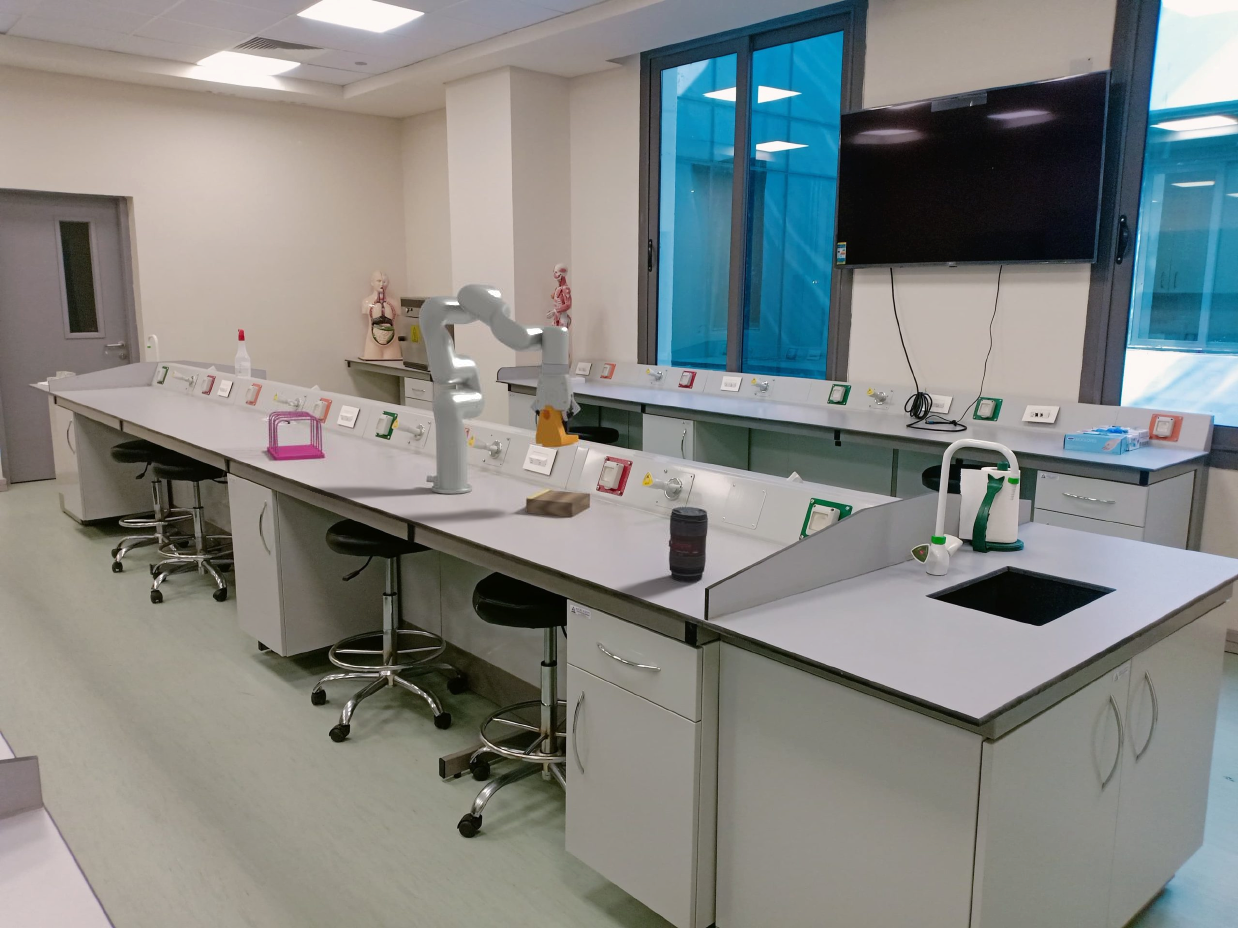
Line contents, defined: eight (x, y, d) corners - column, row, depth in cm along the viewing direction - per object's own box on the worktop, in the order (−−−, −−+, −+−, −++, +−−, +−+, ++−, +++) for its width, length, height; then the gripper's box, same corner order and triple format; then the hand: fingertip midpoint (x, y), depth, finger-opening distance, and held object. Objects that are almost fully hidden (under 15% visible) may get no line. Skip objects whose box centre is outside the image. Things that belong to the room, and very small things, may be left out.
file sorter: (313, 448, 359) (312, 409, 357) (324, 458, 337) (323, 417, 335) (267, 451, 351) (265, 411, 349) (275, 461, 329) (273, 418, 327)
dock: (526, 512, 255) (526, 497, 254) (545, 502, 268) (545, 489, 268) (572, 517, 251) (572, 502, 250) (589, 507, 264) (590, 493, 263)
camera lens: (675, 584, 191) (678, 515, 189) (663, 573, 199) (665, 507, 196) (711, 582, 193) (714, 513, 191) (697, 571, 201) (700, 505, 198)
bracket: (580, 444, 258) (577, 402, 256) (561, 447, 253) (558, 405, 251) (554, 443, 265) (551, 402, 263) (536, 446, 260) (533, 405, 258)
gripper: (522, 370, 254) (522, 433, 257) (579, 371, 249) (578, 436, 252) (532, 368, 261) (532, 430, 264) (588, 370, 256) (587, 433, 259)
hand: (555, 433), depth 258 cm, fingers closed on bracket, 5 cm apart
